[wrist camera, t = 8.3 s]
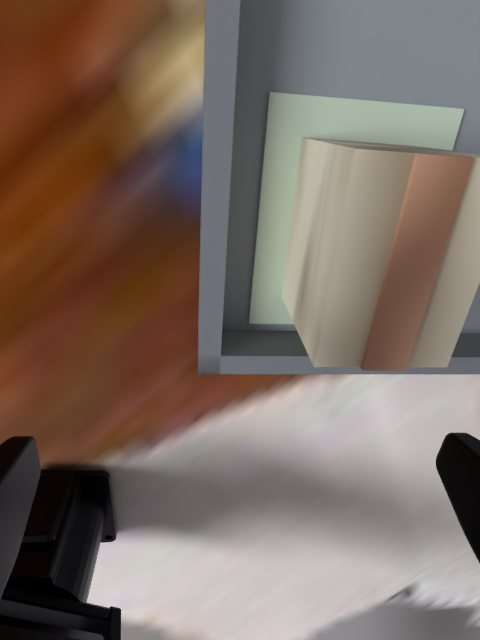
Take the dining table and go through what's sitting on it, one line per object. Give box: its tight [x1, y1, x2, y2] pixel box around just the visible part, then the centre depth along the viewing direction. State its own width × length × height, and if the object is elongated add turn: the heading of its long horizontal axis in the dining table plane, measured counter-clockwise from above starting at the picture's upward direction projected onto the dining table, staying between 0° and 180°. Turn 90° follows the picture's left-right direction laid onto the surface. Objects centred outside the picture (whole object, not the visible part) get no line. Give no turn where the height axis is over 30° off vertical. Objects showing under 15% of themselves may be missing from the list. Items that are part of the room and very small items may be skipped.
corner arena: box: [198, 0, 480, 374], centre depth 17 cm, size 15×17×3 cm
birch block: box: [281, 137, 480, 371], centre depth 15 cm, size 5×7×6 cm
